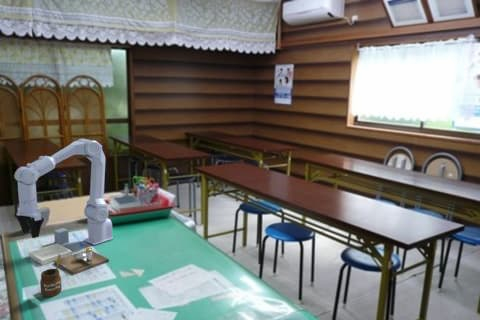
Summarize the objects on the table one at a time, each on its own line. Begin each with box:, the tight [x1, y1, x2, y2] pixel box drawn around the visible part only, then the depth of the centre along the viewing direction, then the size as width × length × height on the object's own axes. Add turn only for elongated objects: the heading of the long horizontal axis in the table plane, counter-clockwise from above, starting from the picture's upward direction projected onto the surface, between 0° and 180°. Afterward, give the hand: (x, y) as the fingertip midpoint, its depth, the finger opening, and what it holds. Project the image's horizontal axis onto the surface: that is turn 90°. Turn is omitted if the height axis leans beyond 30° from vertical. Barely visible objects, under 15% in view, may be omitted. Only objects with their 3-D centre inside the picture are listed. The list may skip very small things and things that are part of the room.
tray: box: [28, 243, 73, 266], centre depth 144 cm, size 11×11×2 cm
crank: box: [75, 247, 93, 264], centre depth 138 cm, size 8×4×6 cm, turn 52°
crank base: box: [53, 249, 110, 275], centre depth 140 cm, size 14×14×1 cm
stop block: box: [53, 227, 70, 246], centre depth 156 cm, size 4×4×6 cm
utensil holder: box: [38, 255, 62, 298], centre depth 117 cm, size 6×6×12 cm
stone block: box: [28, 206, 51, 233], centre depth 171 cm, size 12×5×10 cm, turn 168°
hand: (30, 234), depth 138 cm, fingers open, 7 cm apart
